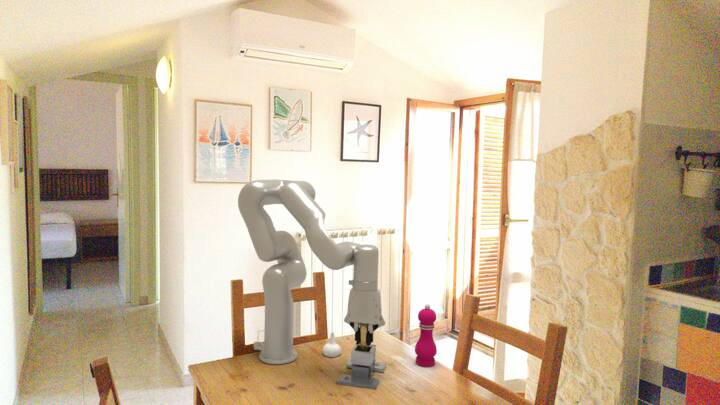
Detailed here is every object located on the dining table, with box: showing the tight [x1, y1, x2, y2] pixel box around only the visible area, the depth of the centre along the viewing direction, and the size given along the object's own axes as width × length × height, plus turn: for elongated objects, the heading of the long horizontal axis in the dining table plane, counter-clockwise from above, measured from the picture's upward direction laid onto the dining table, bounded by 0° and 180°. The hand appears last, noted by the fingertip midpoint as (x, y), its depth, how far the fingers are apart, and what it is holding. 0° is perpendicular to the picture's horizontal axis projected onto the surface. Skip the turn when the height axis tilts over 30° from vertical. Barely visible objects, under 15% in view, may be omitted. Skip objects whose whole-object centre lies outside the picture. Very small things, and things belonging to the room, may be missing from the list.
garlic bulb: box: [322, 331, 342, 358], centre depth 168 cm, size 6×6×8 cm
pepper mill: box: [414, 303, 437, 368], centre depth 162 cm, size 7×7×20 cm
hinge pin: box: [359, 323, 369, 352], centre depth 151 cm, size 4×4×13 cm
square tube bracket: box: [346, 343, 387, 373], centre depth 155 cm, size 12×12×8 cm
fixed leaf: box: [336, 361, 380, 390], centre depth 150 cm, size 12×11×4 cm
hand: (363, 343), depth 152 cm, fingers closed on hinge pin, 2 cm apart
